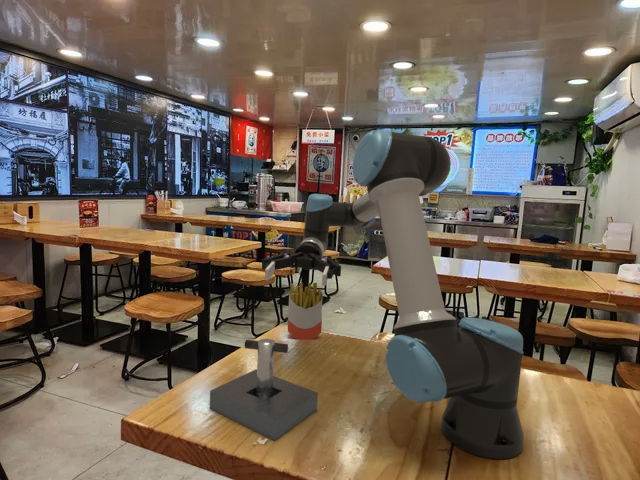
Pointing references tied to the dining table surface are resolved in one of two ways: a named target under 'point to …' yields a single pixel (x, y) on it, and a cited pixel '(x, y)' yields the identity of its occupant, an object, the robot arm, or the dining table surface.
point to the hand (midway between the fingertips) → (294, 277)
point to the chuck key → (265, 364)
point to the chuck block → (264, 404)
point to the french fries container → (305, 312)
